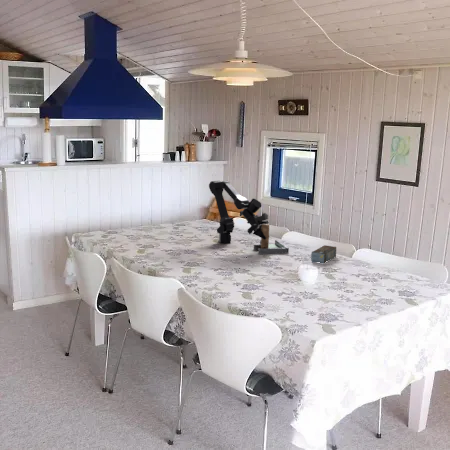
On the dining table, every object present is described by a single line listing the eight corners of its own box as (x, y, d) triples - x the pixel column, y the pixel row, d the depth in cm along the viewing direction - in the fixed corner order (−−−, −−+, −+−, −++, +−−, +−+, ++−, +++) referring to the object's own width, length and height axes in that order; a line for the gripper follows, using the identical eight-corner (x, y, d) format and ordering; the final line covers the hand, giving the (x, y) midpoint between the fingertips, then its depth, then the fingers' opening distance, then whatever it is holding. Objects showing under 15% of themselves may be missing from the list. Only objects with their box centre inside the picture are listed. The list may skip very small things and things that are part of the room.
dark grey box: (310, 262, 297) (310, 250, 295) (323, 255, 313) (324, 244, 311) (323, 264, 293) (324, 252, 291) (336, 257, 309) (337, 246, 307)
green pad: (267, 248, 323) (267, 247, 323) (262, 245, 331) (262, 244, 331) (278, 248, 325) (278, 247, 325) (273, 244, 333) (274, 244, 333)
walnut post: (261, 252, 313) (263, 225, 310) (259, 250, 317) (260, 223, 314) (269, 252, 314) (270, 225, 311) (266, 250, 319) (268, 223, 315)
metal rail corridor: (258, 254, 310) (259, 249, 309) (248, 245, 329) (248, 240, 329) (288, 253, 314) (288, 248, 313) (276, 244, 334) (276, 239, 333)
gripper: (253, 211, 305) (270, 232, 302) (266, 206, 321) (283, 227, 318) (240, 223, 310) (256, 244, 307) (254, 218, 326) (270, 238, 323)
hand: (267, 238), depth 314 cm, fingers closed on walnut post, 4 cm apart
